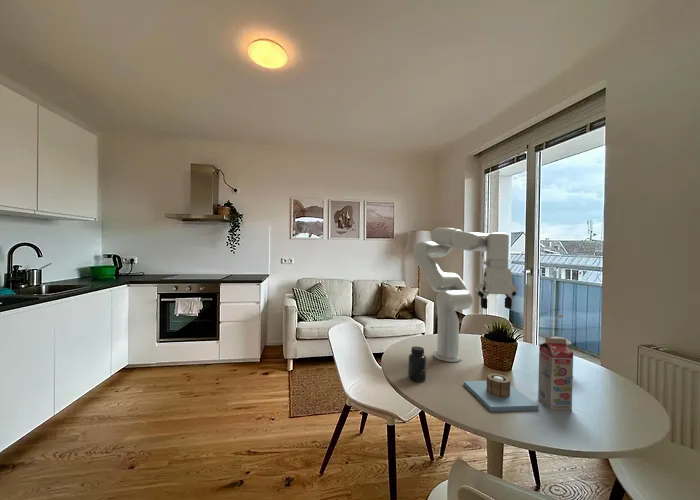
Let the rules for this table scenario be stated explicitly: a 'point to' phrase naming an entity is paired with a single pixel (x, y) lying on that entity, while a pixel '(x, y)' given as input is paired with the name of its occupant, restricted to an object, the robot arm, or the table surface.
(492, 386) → the walnut ring
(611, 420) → the table surface
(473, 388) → the post board
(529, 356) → the table surface
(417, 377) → the supplement bottle
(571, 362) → the juice carton
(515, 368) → the table surface
